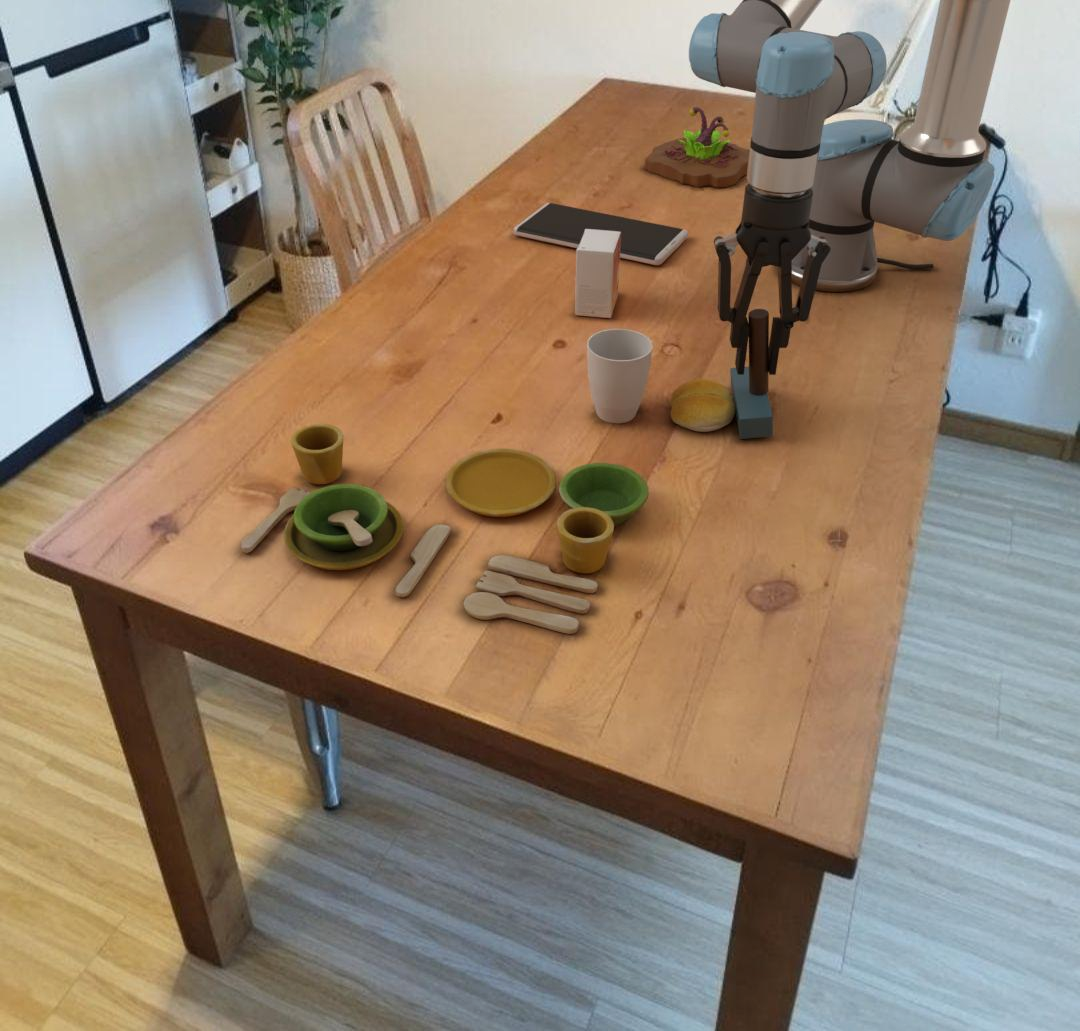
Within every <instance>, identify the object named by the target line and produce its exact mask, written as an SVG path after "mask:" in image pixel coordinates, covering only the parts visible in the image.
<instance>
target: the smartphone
mask: <svg viewBox="0 0 1080 1031" xmlns="http://www.w3.org/2000/svg"><path fill="white" fill-rule="evenodd" d="M585 229H595V230H607V231H618V232H621V247H620V259H623V260H624V259H625V260H629V261H633V262H638V263H642V264H643V263H644V264H648V265H652V266H660V265H662V264H663V263H664V262H666V260H667V259H668V258H669V257H670V256H671V255H672V254H673V253H674V252H675V251H676V250H677V249H678V248H679V247H680V246H681V245H682V244H683V243H684V242H685V241H686V240H687V239H688V237H689V230H687V229H684V228H680V227H675V226H669V225H664V224H659V223H654V222H649V221H644V220H639V219H634V218H628V217H624V216H620V215H619V216H618V215H614V214H609V213H604V212H599V211H594V210H589V209H584V208H578V207H573V206H568V205H564V204H559V203H553V202H547V203H544V205H542V206H541V207H539V208H538V209H537V210H535V211H534V212H533V213H531V214H530V215H529V216H527V217H526V218H525V219H523V220H522V221H520V223H518V224H517V225H515V226H514V227H513V234H514V235H515V236H517V237H522V238H526V239H531V240H534V241H540V242H543V243H544V242H545V243H549V244H554V245H559V246H563V247H569V248H572V249H577V248H578V246H579V244H580V242H581V239H582V237H583V234H584V231H585Z"/></svg>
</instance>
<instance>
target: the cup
mask: <svg viewBox="0 0 1080 1031" xmlns="http://www.w3.org/2000/svg"><path fill="white" fill-rule="evenodd" d="M652 354H653V342H652V340H651V338H649V337H648V336H647V335H645V334H643V333H642V332H639V331H636V330H633V329H627V328H609V329H603V330H600V331H597V332H595V333H594V334H592V335H591V336H590V337H589V338H588V339H587V341H586V356H587V357H586V358H587V376H588V382H589V389H590V390H589V391H590V395H591V400H592V403H593V406H594V408H595V413H596V415H597V417H598V418H599V419H600V420H601V421H603V422H605V423H609V424H624V423H629V422H631V421H632V420H633V419H634V418H635V417H636V415H637V413H638V410H639V408H640V406H641V404H642V401H643V398H644V395H645V391H646V387H647V383H648V379H649V375H650V368H651V362H652V356H653V355H652Z"/></svg>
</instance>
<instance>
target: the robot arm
mask: <svg viewBox="0 0 1080 1031" xmlns="http://www.w3.org/2000/svg"><path fill="white" fill-rule="evenodd" d="M822 1H823V0H742V1H741V2H740V3H739V5H737V7H736V8H735V9H734V11H733V12H732V13H731V14H727V13H725V12H721V13H715V12H714V13H709V14H708V15H704V16H703V17H702V18H701V19H700V20H699V21H698V23H697V24H696V26H695V27H694V29H693V32H692V34H691V37H690V41H689V47H688V61H689V63H690V68H691V71H692V73H693V74H694V75H695V77H697V78H698V79H700V80H702V81H705V82H708V83H711V84H714V85H718V86H720V87H722V88H731V89H734V90H740V91H745V92H750V93H754V94H755V98H754V108H753V118H752V119H753V120H752V127H751V128H752V129H751V137H750V144H749V150H750V152H749V160H748V168H747V174H746V175H745V176H746V177H745V178H746V179H745V180H746V181H747V184H746V185H745V187H744V195H743V202H742V203H743V204H742V212H741V220H740V222H739V225H738V226H737V228H736V229H735V233H733V234H731V235H728V236H725V237H723V236H720V235H718V236H716V237H715V238H714V239H713V245H714V249H715V252H716V255H717V257H718V261H717V262H718V263H717V264H718V265H717V268H718V269H717V270H718V271H717V272H718V273H717V312H718V316H719V320H720V321H721V322H729V323H730V330H729V332H730V333H729V342H730V346H731V348H732V349H736V352H735V360H734V361H735V362H734V365H735V368H736V370H737V374H738V375H744V369H745V367H746V361H747V351H748V346H749V329H750V327H749V320H748V316H747V315H748V313H749V312H748V311H749V308H750V305H751V301H752V298H753V295H754V292H755V289H756V285H757V282H758V279H759V276H760V275H761V272H762V269H763V268H764V267H768V266H769V267H770V266H773V267H777V283H778V306H779V308H778V310H779V316H773V317H772V321H771V326H770V328H771V329H770V334H769V335H770V336H769V370H768V371H769V375H770V376H776V375H777V368H778V362H779V355H780V349H787V347H788V346H789V343H790V336H791V331H792V329H793V328H794V326H795V323H797V322H801V323H804V322H807V320H808V319H809V317H810V314H811V313H810V312H811V309H812V305H813V301H814V298H815V293H816V291H821V292H833V293H844V292H853V291H858V290H861V289H863V288H866V287H869V285H871V284H872V283H874V282H875V280H876V277H877V273H878V267H879V264H884V265H890V266H894V267H898V268H903V269H909V270H927V269H934V263H921V264H919V263H918V264H912V263H905V262H901V261H897V260H893V259H887V258H883V257H878V256H877V249H876V248H877V247H876V242H875V235H874V234H875V233H874V228H875V223H878V224H882V225H885V226H888V227H891V228H895V229H898V230H902V231H905V232H907V233H911V234H914V235H918V236H921V237H922V238H923V239H926V238H930V239H935V240H938V241H944V242H949V241H953V240H956V239H958V238H959V237H961V236H962V235H963V234H964V233H965V232H966V231H967V230H968V229H969V228H970V227H971V225H972V224H973V223H974V221H975V219H976V218H977V216H978V215H979V213H980V211H981V209H982V208H983V206H984V204H985V202H986V200H987V198H988V195H989V193H990V191H991V188H992V185H993V182H994V179H995V166H994V164H992V163H990V161H989V160H984V156H985V152H986V148H987V142H986V140H985V139H984V138H983V137H982V135H981V134H980V132H979V128H980V126H981V121H982V117H983V112H984V109H985V104H986V101H987V97H988V93H989V88H990V85H991V81H992V76H993V74H994V69H995V65H996V61H997V56H998V53H999V48H1000V45H1001V40H1002V37H1003V33H1004V28H1005V25H1006V20H1007V16H1008V12H1009V9H1010V4H1011V0H939V3H938V8H937V11H936V17H935V22H934V26H933V32H932V36H931V40H930V46H929V51H928V56H927V61H926V65H925V70H924V74H923V79H922V84H921V89H920V93H919V98H918V101H917V102H918V103H917V108H916V113H915V117H914V122H913V124H912V125H911V126H910V127H908V128H907V129H906V130H904V131H903V132H901V134H900V137H899V140H897V139H896V140H895V139H893V138H894V136H895V133H894V128H893V126H892V125H891V124H888V122H885V121H882V120H877V119H867V118H866V119H863V118H862V119H860V118H859V119H858V118H857V119H854V118H853V119H844V120H837V121H833V122H829V123H825V120H826V119H829V118H831V117H832V116H834V115H836V114H839V113H841V112H843V111H845V110H848V109H850V108H852V107H857V106H859V105H860V104H861V103H863V102H864V100H866V99H867V98H869V97H871V96H872V95H873V94H874V93H875V92H877V91H878V90H879V88H880V87H881V85H882V84H883V81H884V80H885V76H886V73H887V65H888V63H887V62H888V61H887V56H886V52H885V49H884V47H883V46H882V43H881V42H880V41H879V40H878V39H877V38H876V37H875V36H874V35H872V34H870V33H869V32H865V31H859V30H858V31H857V30H856V31H846V32H842V33H840V34H839V35H836V36H835V35H830V34H825V33H821V32H820V33H819V32H813V31H808V30H803V29H802V27H803V26H804V25H805V24H806V23H807V21H808V20H809V18H810V17H811V16H812V15H813V13H814V12H815V10H816V9H817V8H818V6H819V5H820V4H822ZM737 246H740V248H741V249H742V251H743V252H744V254H745V256H746V259H745V266H744V270H743V273H742V277H741V280H740V282H739V287H738V290H737V294H736V297H735V300H734V303H733V307H731V288H732V287H731V286H732V261H731V258H732V257H733V256H734V255H735V253H736V247H737ZM792 283H793V284H796V285H798V286H799V290H798V294H797V298H796V303H795V306H794V307H793V284H792Z"/></svg>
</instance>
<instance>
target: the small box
mask: <svg viewBox="0 0 1080 1031" xmlns="http://www.w3.org/2000/svg"><path fill="white" fill-rule="evenodd" d="M620 247H621V232H618V231H607V230H595V229H585V231H584V234H583V237H582V239H581V242H580V244H579V246H578V248H576V249H575V256H576V257H575V285H574V286H575V290H574V292H575V293H574V298H575V299H574V315H575V316H581V317H592V318H604V319H612V316H613V312H614V310H615V306H616V304H617V301H618V297H619V284H620V283H619V279H620V261H621V258H620Z"/></svg>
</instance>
